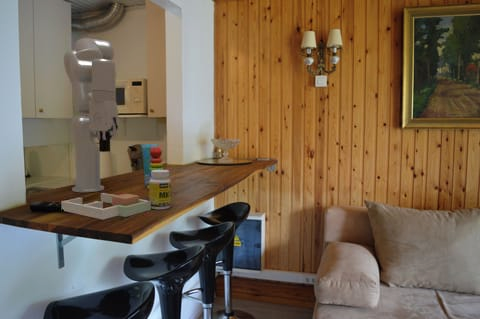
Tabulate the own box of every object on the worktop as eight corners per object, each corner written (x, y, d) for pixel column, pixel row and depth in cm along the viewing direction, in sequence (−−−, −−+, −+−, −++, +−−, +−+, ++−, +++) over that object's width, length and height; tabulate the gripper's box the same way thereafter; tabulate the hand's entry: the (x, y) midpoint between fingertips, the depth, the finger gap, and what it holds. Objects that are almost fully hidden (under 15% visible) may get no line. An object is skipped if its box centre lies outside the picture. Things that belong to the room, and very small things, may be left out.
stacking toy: (154, 187, 164) (154, 145, 162) (169, 188, 161) (169, 146, 159) (143, 190, 156) (143, 146, 154) (159, 191, 153) (159, 147, 152)
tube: (157, 184, 172) (157, 143, 170) (158, 185, 168) (158, 144, 166) (141, 184, 170) (141, 143, 168) (142, 186, 165) (141, 144, 163)
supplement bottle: (160, 211, 121) (159, 172, 120) (144, 207, 125) (144, 170, 123) (175, 206, 127) (175, 170, 126) (159, 204, 131) (159, 168, 130)
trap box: (60, 210, 119) (60, 201, 119) (103, 200, 134) (103, 192, 134) (109, 221, 107) (109, 211, 107) (150, 209, 122) (150, 201, 122)
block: (112, 211, 119) (112, 196, 119) (126, 208, 125) (126, 193, 124) (125, 214, 117) (125, 198, 116) (139, 210, 122) (139, 195, 121)
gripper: (79, 96, 123) (81, 150, 125) (109, 96, 115) (110, 153, 117) (98, 98, 129) (99, 149, 131) (128, 97, 121) (128, 152, 123)
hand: (104, 151), depth 124 cm, fingers closed
